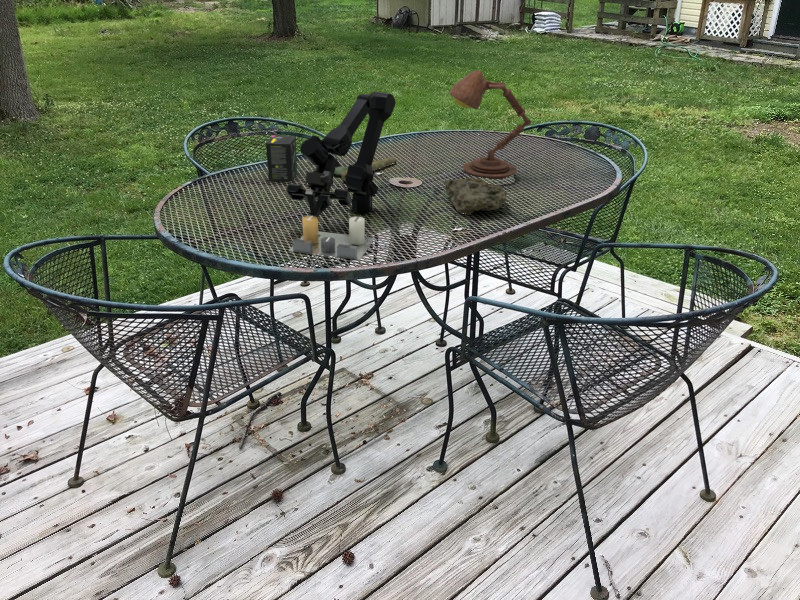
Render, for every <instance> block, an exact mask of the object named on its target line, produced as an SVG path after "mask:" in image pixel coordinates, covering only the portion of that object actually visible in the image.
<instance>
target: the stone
mask: <svg viewBox="0 0 800 600" xmlns="http://www.w3.org/2000/svg"><path fill="white" fill-rule="evenodd" d="M444 190H445V192H446V193H447V195H448V196H449V197H450V203H451V204H452V205H453V207H454V208H455V209H456V210H455V211H456V212H457V213H459V214H460V213H464V214H465V213H466V214H465V215H467V214H469V215H471V214H470V213H472V214H473V213H474V212H475V211H477V212H479V211H482V212H483V211H484V210H486V211H485V212H488V211H487V210H490V211H494V210H498V209H500V208H502V206H503V204H504V203H506V201H507V195H508V194H507V192H506V191H505V189H504V188H503V187H502V186H499V185H491V184H488V183H486V182H483V181H482V180H480V179H473V178H466V179H463V178H458V179H453V180H452V179H445V180H444Z"/></svg>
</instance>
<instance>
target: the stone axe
mask: <svg viewBox="0 0 800 600" xmlns="http://www.w3.org/2000/svg"><path fill="white" fill-rule="evenodd" d="M394 162H396V163H397V158H396V157H393V156H392V157H391V156H390V157H389V156H388V157H385V158H383V159H378V160H375V161H374V160H373V162H372V166H371V167H372V171H374V170H376V169H379V168H382V167H384V166H387V165H390V164H392V163H394ZM348 166H349V165H348ZM348 166H347V165H346V166H340V167H336V168H335V172H334V174H336V175H335V176H341V180H342V181H343V180H344V181H345V179H346V177H345V176H346V174H347V171H348ZM382 169H383V168H382ZM374 172H375V171H374ZM344 181H343V182H344Z"/></svg>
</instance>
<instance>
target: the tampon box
mask: <svg viewBox="0 0 800 600" xmlns="http://www.w3.org/2000/svg"><path fill="white" fill-rule="evenodd" d="M265 148H266V149H265V150H266V160H267V161H266V162H267V163H266V164H267V171H268V172H267V174H268V182H282V181H292V182H291V183H293V182H294V181H293V180H295V179H294V178H296V177H297V175H298V159H297V136H294V135H271V137H270V138H269V139H268V140H267V141H266V142H265Z"/></svg>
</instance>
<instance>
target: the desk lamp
mask: <svg viewBox="0 0 800 600" xmlns="http://www.w3.org/2000/svg"><path fill="white" fill-rule="evenodd" d="M486 79H487V78H486V77H485V76H484V75H483V72H482V70H479V69H476V70H473V71H471V72H469V73H468V74H467V75H465V76H464V77H462V79H460V80H458V81H457V82H455V84H454V85H453V86H452V87H451V89H450V91H449V95H450V96H451V97H453V99H454V101H455V103H456V104H457V106H459V107H461V108H463V109H471V108H472V109H474V110H477V109H478V108H479V107H480V106H481V103H482V100H483V95H484V94H485V93H486V91H488V90H502V91H503V92H502V96H503V97H504V98H505V99H506V101H507V102H508V103H509V104H510V106H511V108H512V109H513V111H514V112H515V113H516V116H517V117H521V118H522V119H523V123H522V124H520V123H519V124H517V125H516V126H515V128H513V129H512V130H511V131H509V133H507V134H506V135H505V136H504V137H503V138H501V139H500V141H498V142H496V145H495V147H494V148H493V149H489V150H488V152H487V156H484V157H480V158H475V159H473V160H472V161H468V162H466V163H464V164H463V165H462V169H463V171H465V172H466V173H467V174H469V175H472V176H477V177H481V178H482V177H483V178H489V179H503V178H506V177H509V176H511V175H513V174H515V175H516V173H517V171H518V169H517V167H516V166H514V165H512V164H509V163H508V162H507V161H506V160H502V159H500V158H498V157H495V154H496V152H497V151H498V150H504V148H505V147H506V146H507V145H509V143H511V142H512V141H513V140H514V139H515V138H517V137H518V136H519V135H520V134H521V133H523V132H524V131H525V129H524V128H525V127H526V126H527V127H528V126H530V125H531V124H532V120H531V119H530V118H528V117H527V115H526V109H525V108H523V106H522V105H521V104H520V103H519V100H518V98H517V97H516V96H515V95H514V93H512V92H513V91H512V90H511V88H508V89H507V85H506V84H505V83H504V82H503V81H491V80H486Z"/></svg>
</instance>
